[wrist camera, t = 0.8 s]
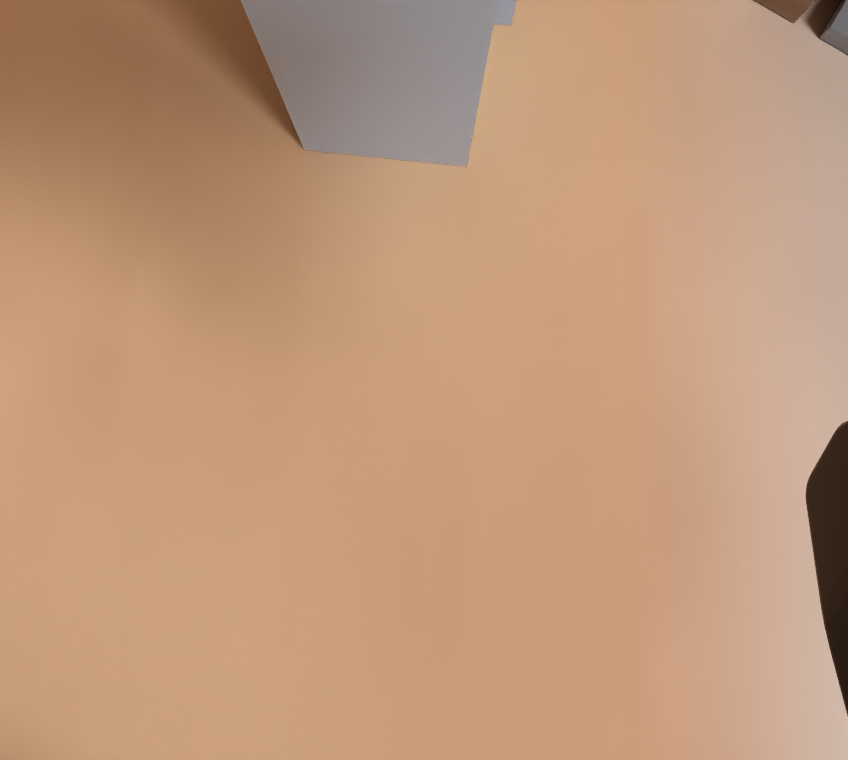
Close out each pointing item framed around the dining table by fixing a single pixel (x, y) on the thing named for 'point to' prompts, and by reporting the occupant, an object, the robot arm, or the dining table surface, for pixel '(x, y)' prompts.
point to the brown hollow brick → (840, 32)
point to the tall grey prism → (380, 72)
